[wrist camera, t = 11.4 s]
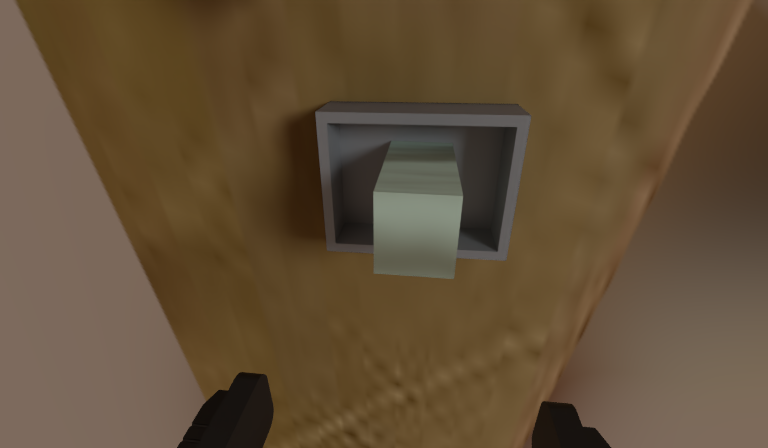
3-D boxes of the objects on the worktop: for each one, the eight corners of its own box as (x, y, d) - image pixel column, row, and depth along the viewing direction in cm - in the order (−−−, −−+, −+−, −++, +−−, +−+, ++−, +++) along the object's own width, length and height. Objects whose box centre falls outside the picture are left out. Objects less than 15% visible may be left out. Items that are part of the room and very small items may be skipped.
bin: (329, 101, 27) (315, 111, 24) (517, 104, 26) (531, 115, 23) (338, 226, 32) (327, 250, 29) (497, 234, 31) (506, 260, 27)
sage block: (391, 140, 28) (373, 191, 19) (452, 142, 27) (463, 196, 19) (390, 202, 30) (373, 273, 21) (446, 205, 30) (453, 278, 21)
